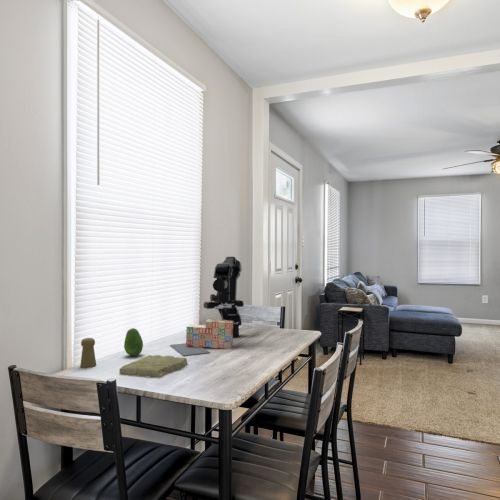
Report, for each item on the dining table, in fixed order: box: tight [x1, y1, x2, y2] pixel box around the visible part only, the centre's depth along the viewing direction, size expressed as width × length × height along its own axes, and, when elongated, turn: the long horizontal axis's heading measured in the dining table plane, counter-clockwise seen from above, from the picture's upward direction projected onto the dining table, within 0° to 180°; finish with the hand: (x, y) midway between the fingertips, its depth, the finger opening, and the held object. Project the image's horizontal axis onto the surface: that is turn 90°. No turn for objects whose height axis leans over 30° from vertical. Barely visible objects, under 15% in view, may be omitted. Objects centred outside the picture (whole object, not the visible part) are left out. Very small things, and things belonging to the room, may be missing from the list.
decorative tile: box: [119, 354, 188, 378], centre depth 158 cm, size 19×20×4 cm
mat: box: [169, 342, 211, 357], centre depth 190 cm, size 12×23×1 cm, turn 25°
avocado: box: [123, 327, 144, 357], centre depth 179 cm, size 8×8×12 cm
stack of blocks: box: [185, 318, 234, 350], centre depth 194 cm, size 21×6×12 cm, turn 84°
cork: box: [79, 337, 97, 369], centre depth 164 cm, size 6×6×11 cm
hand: (223, 322), depth 198 cm, fingers closed
